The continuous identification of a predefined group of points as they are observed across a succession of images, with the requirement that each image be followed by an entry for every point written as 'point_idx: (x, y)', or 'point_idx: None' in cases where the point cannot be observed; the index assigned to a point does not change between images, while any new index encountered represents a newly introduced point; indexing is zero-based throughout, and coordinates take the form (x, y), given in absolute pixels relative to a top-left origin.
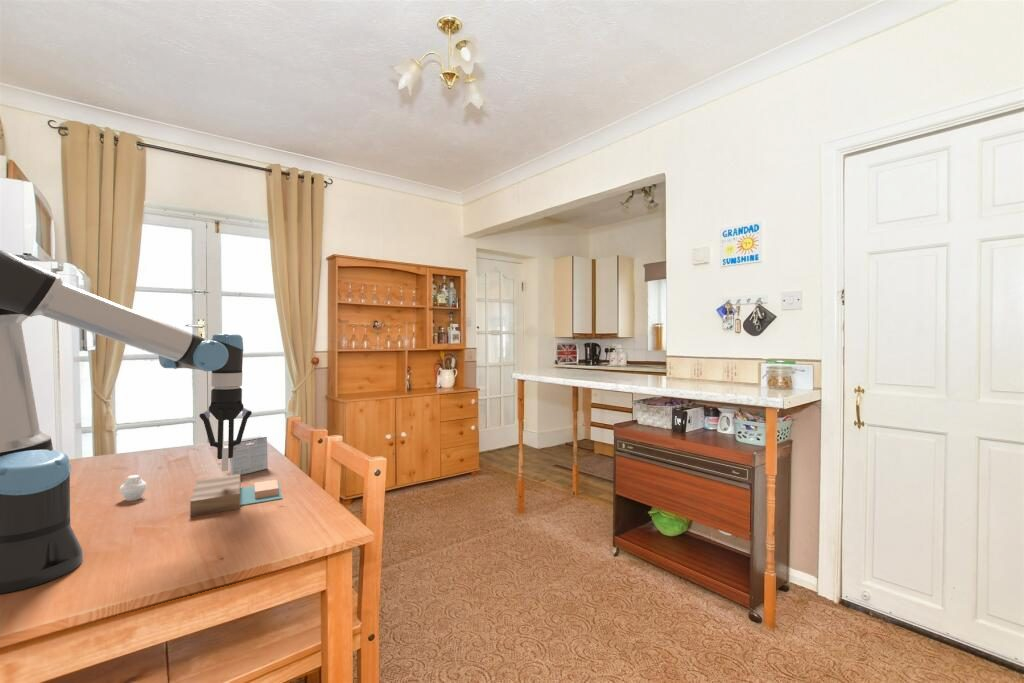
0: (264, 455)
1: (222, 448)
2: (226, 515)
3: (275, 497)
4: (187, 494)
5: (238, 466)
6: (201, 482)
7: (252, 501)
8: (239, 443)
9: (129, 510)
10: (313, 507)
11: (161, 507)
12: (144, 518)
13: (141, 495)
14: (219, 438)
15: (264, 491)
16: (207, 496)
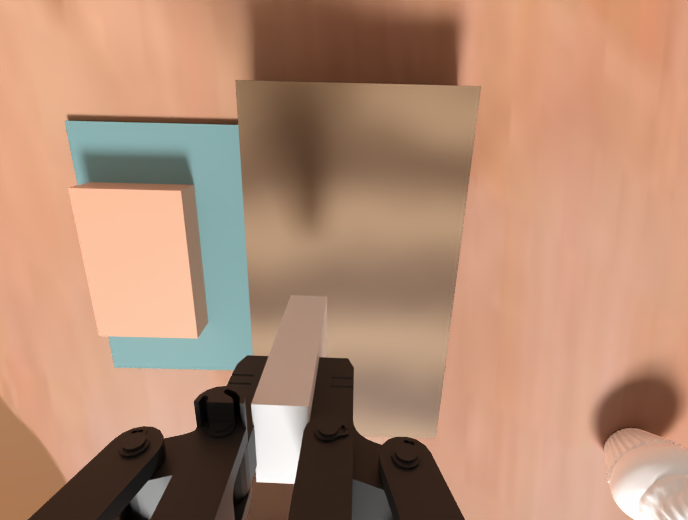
0: None
1: (306, 406)
2: (308, 8)
3: (99, 148)
4: (457, 401)
5: None
6: (420, 393)
7: (201, 145)
8: (129, 432)
9: (653, 319)
10: None
11: (551, 293)
12: (620, 184)
13: (608, 448)
14: (329, 517)
15: (138, 187)
16: (397, 132)
